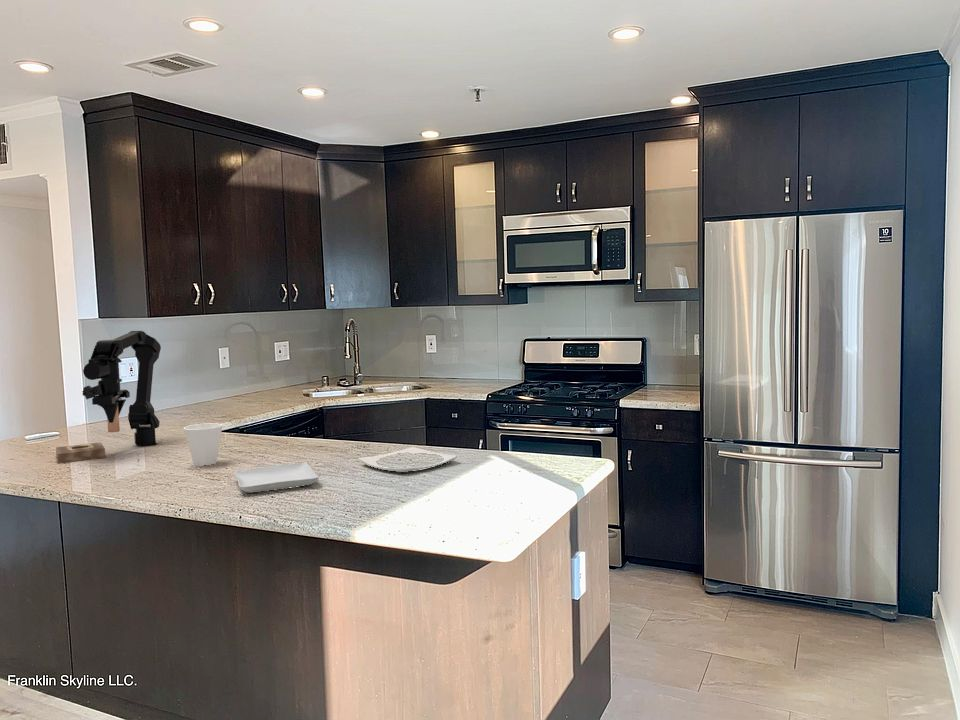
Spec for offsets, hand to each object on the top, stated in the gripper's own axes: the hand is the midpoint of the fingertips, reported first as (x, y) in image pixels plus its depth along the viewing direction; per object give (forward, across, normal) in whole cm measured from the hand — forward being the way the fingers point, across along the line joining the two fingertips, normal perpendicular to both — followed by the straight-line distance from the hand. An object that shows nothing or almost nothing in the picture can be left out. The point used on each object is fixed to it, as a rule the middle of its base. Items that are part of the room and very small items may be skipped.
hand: (113, 421), depth 245 cm
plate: (+13, +39, +99) cm, 107 cm away
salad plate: (+13, +54, +61) cm, 82 cm away
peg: (+3, 0, 0) cm, 3 cm away
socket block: (+12, -1, -12) cm, 17 cm away
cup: (+12, +22, +35) cm, 43 cm away
